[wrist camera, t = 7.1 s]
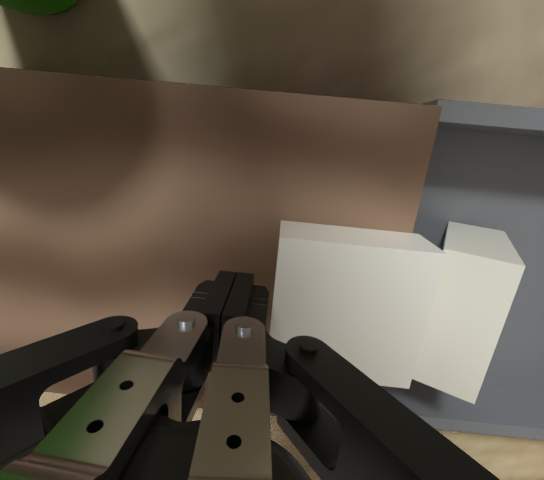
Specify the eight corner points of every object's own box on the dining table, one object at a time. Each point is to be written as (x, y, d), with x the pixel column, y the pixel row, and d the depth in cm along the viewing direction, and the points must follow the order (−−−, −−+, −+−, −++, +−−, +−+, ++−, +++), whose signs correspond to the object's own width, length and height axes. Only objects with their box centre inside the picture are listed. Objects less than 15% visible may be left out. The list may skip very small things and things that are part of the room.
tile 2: (443, 248, 12) (525, 266, 11) (448, 221, 17) (504, 231, 15) (408, 377, 14) (474, 404, 12) (422, 317, 18) (470, 333, 17)
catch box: (405, 108, 16) (438, 99, 12) (705, 134, 15) (822, 132, 12) (351, 376, 21) (363, 421, 17) (575, 399, 20) (631, 449, 17)
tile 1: (280, 220, 13) (279, 237, 11) (418, 233, 13) (447, 254, 11) (268, 337, 15) (265, 373, 13) (390, 350, 15) (409, 388, 13)
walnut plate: (15, 80, 16) (-70, 61, 12) (404, 114, 16) (442, 106, 12) (55, 342, 21) (4, 387, 17) (351, 372, 21) (367, 425, 17)
